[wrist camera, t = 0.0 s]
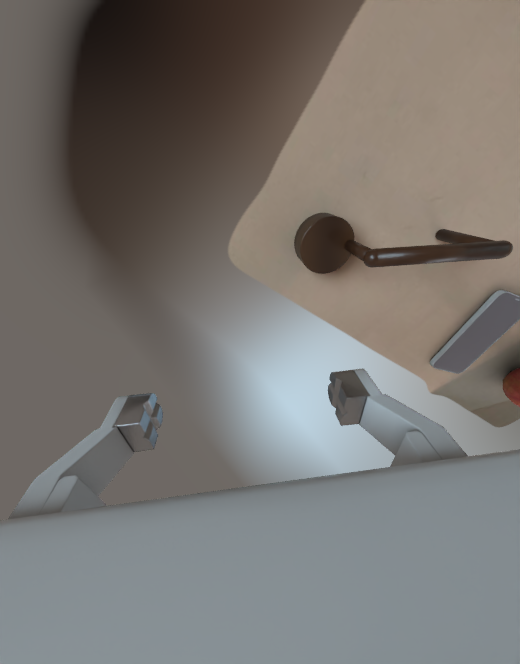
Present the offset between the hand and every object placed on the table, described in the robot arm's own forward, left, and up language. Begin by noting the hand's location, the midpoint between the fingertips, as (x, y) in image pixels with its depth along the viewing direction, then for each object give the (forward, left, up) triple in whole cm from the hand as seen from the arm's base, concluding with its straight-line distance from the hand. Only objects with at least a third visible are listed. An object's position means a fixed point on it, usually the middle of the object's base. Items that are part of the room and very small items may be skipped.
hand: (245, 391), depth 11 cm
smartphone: (+31, +26, -21) cm, 45 cm away
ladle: (+6, +15, -21) cm, 26 cm away
